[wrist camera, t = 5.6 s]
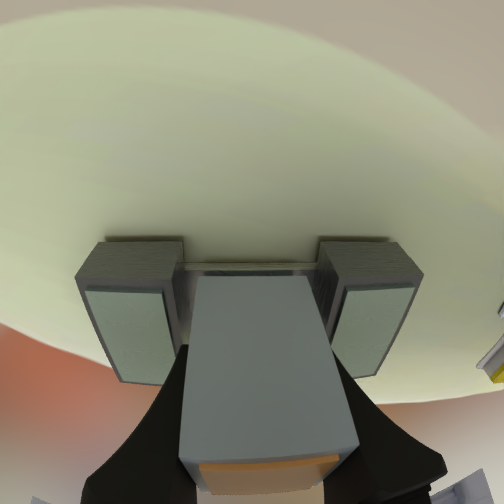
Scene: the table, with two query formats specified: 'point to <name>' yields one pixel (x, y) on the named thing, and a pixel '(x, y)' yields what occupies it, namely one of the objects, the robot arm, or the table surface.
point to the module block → (261, 389)
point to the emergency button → (494, 362)
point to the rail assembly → (186, 275)
